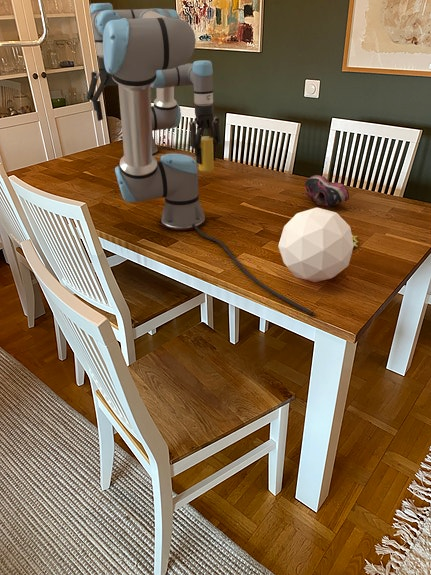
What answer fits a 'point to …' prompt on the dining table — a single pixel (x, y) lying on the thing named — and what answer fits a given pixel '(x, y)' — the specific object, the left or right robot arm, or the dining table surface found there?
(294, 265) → the sphere
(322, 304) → the dining table surface
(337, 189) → the athletic shoe
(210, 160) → the can
